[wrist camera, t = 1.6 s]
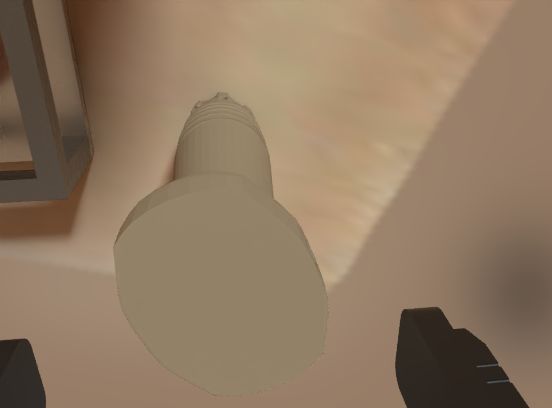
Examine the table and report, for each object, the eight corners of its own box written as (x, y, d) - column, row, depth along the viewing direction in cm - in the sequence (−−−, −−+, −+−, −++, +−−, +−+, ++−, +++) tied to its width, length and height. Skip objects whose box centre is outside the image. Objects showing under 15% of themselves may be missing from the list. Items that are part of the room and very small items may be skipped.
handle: (206, 191, 28) (197, 417, 14) (148, 83, 25) (70, 242, 11) (287, 156, 27) (356, 356, 14) (239, 43, 24) (266, 158, 11)
